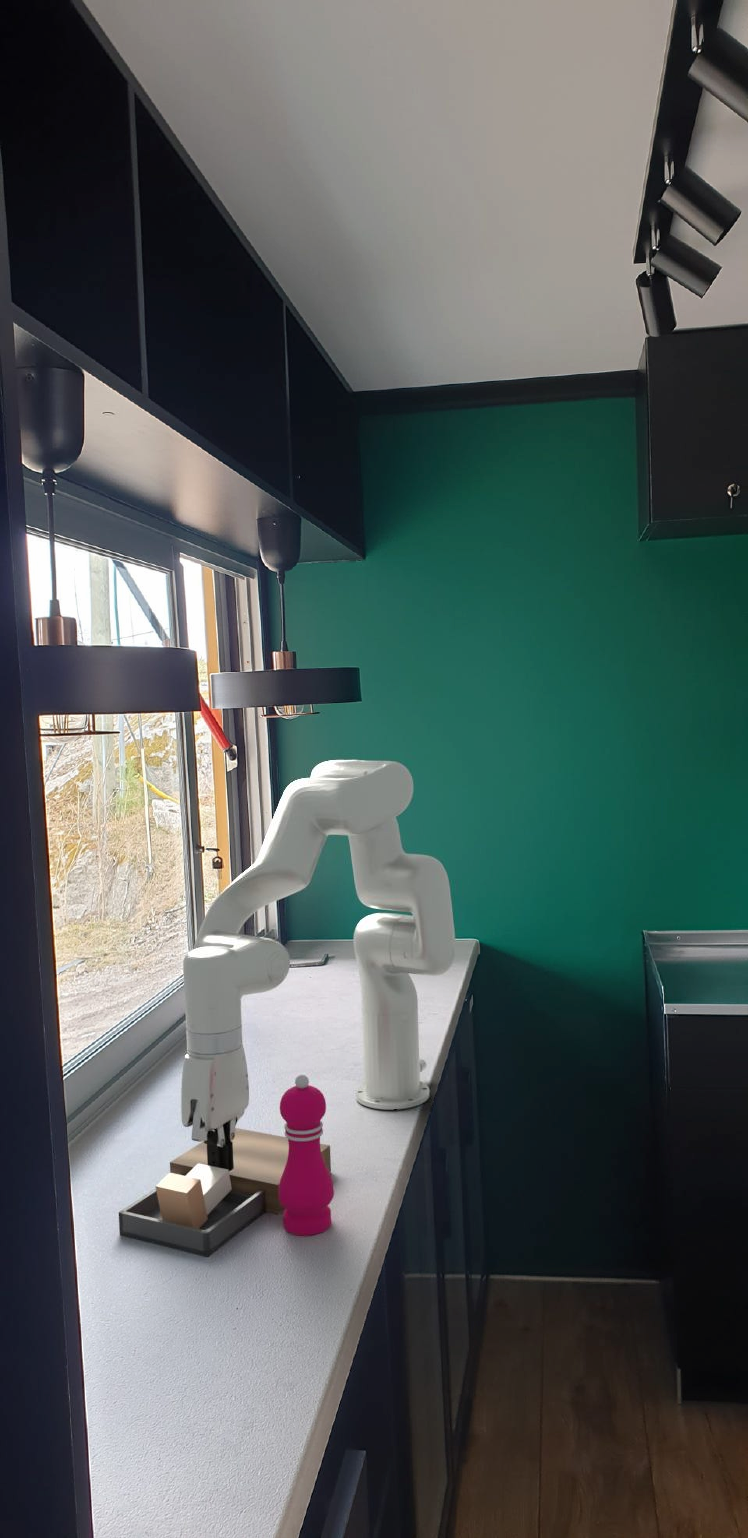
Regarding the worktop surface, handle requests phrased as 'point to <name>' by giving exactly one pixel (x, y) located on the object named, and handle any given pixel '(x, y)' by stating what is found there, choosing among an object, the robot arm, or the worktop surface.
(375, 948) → the robot arm
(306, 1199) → the pepper mill
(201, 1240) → the bin
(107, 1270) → the worktop surface
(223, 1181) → the tile cream
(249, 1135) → the walnut block
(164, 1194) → the tan rectangular block
